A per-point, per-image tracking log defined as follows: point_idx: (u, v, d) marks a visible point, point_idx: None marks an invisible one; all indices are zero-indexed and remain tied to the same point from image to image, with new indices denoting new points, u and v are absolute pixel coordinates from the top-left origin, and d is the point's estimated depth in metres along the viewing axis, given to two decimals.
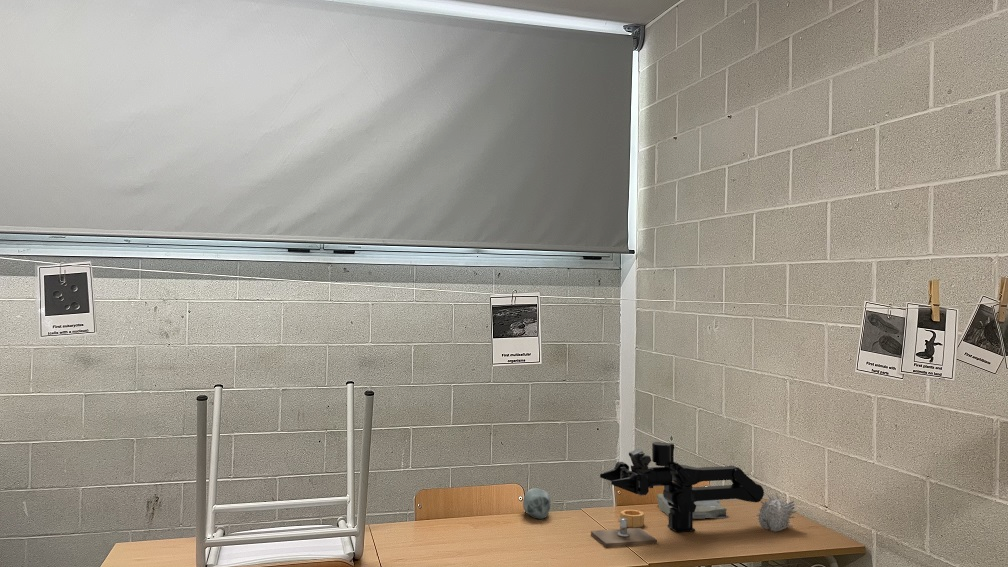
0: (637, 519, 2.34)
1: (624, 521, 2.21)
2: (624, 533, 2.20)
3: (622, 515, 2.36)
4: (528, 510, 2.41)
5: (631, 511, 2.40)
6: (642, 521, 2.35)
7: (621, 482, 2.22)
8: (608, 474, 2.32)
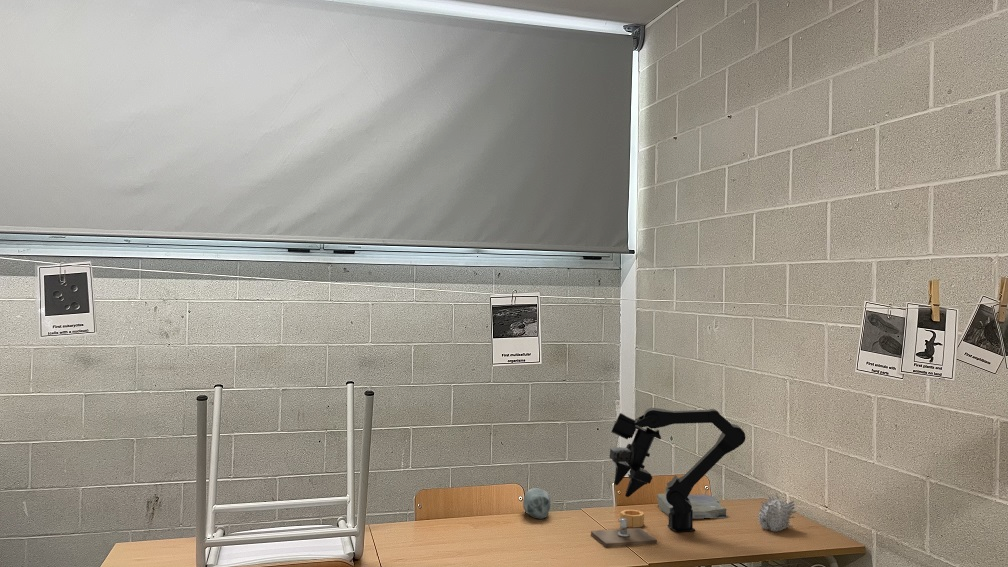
0: (637, 519, 2.34)
1: (624, 521, 2.21)
2: (624, 533, 2.20)
3: (622, 515, 2.36)
4: (528, 510, 2.41)
5: (631, 511, 2.40)
6: (642, 521, 2.35)
7: (630, 489, 2.30)
8: (618, 476, 2.40)
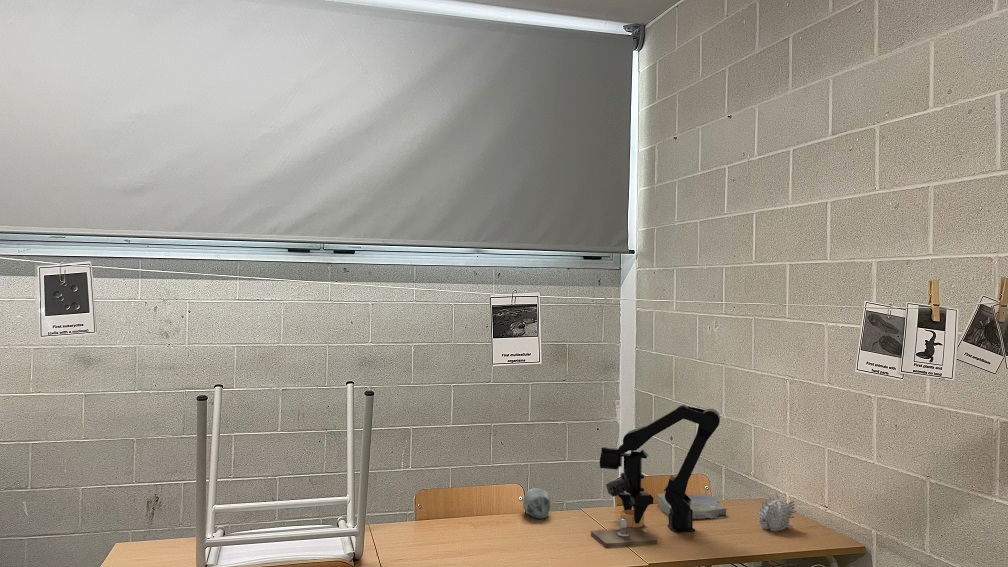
0: None
1: (624, 521, 2.21)
2: (624, 533, 2.20)
3: (622, 515, 2.36)
4: (528, 510, 2.41)
5: (631, 511, 2.40)
6: (642, 521, 2.35)
7: (637, 515, 2.33)
8: (626, 508, 2.41)
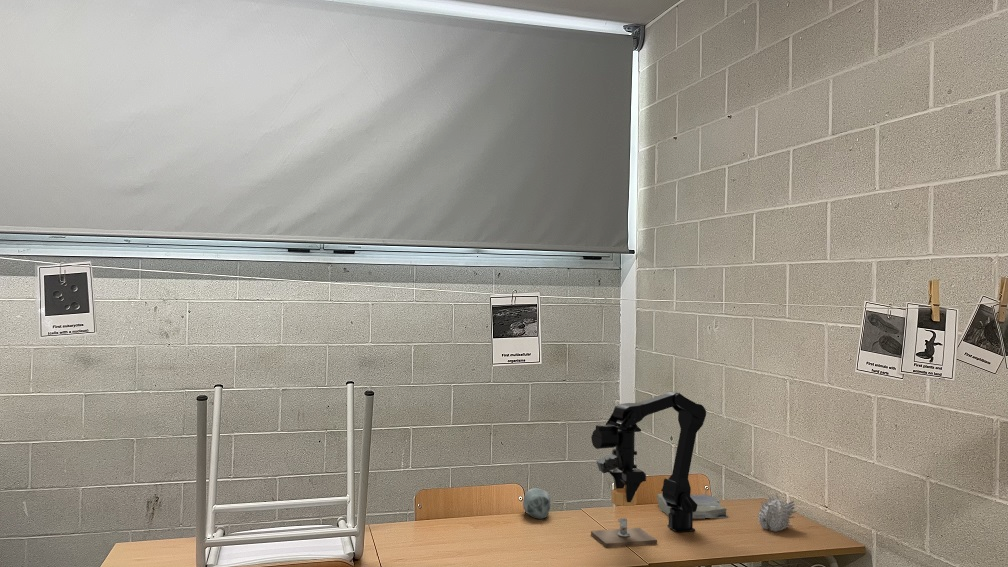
0: None
1: (624, 521, 2.21)
2: (624, 533, 2.20)
3: (613, 493, 2.23)
4: (528, 510, 2.41)
5: (623, 490, 2.26)
6: (634, 500, 2.22)
7: (629, 493, 2.19)
8: (618, 486, 2.27)
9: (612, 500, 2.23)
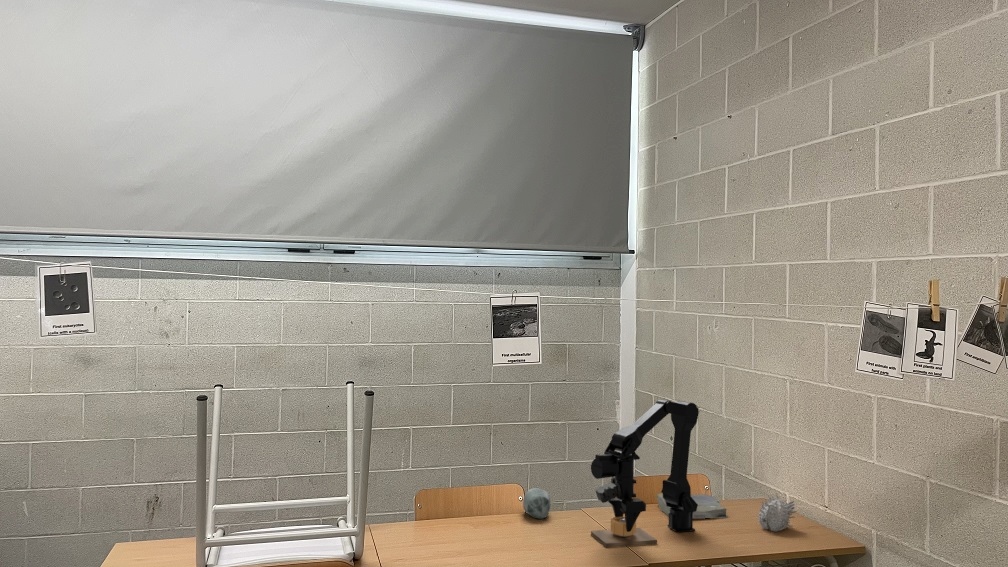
0: None
1: (624, 521, 2.21)
2: None
3: (612, 522, 2.20)
4: (528, 510, 2.41)
5: None
6: (634, 529, 2.20)
7: (629, 523, 2.17)
8: (618, 515, 2.25)
9: (611, 529, 2.21)
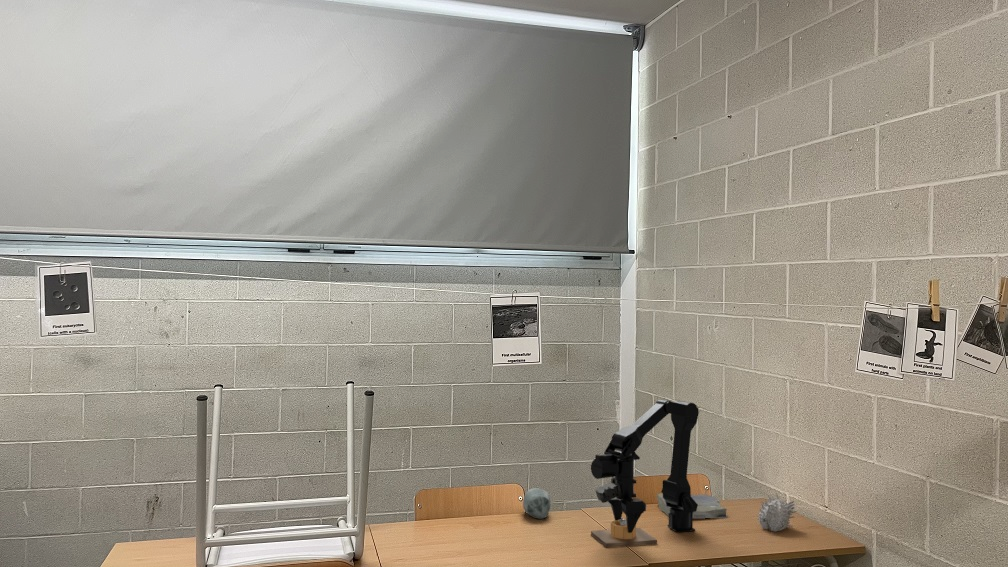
0: None
1: (624, 521, 2.21)
2: None
3: (612, 526, 2.20)
4: (528, 510, 2.41)
5: None
6: (634, 532, 2.19)
7: (630, 524, 2.16)
8: (616, 514, 2.26)
9: (611, 533, 2.21)
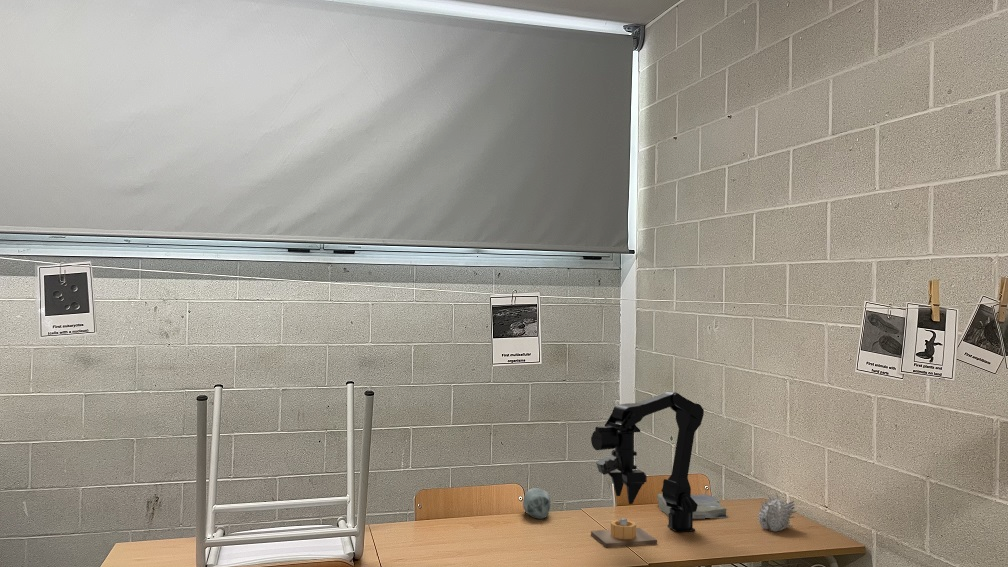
0: (628, 530, 2.18)
1: (624, 521, 2.21)
2: None
3: (612, 526, 2.20)
4: (528, 510, 2.41)
5: None
6: (634, 532, 2.19)
7: (631, 495, 2.17)
8: (617, 487, 2.27)
9: (611, 533, 2.21)
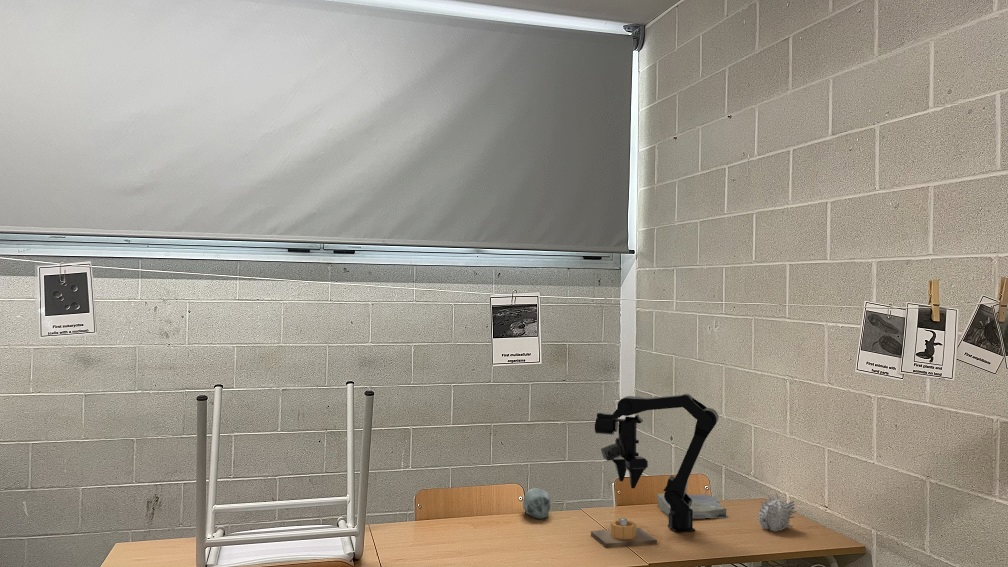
0: (628, 530, 2.18)
1: (624, 521, 2.21)
2: None
3: (612, 526, 2.20)
4: (528, 510, 2.41)
5: None
6: (634, 532, 2.19)
7: (633, 480, 2.34)
8: (620, 472, 2.44)
9: (611, 533, 2.21)
